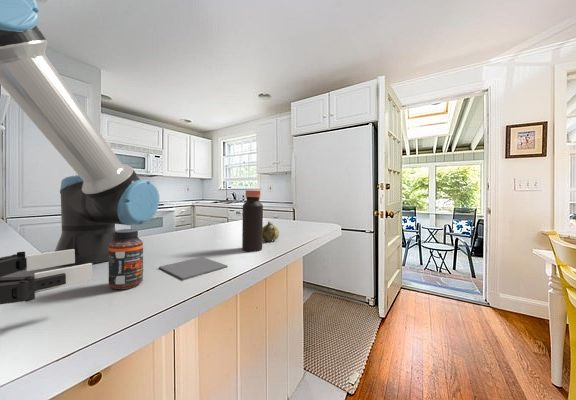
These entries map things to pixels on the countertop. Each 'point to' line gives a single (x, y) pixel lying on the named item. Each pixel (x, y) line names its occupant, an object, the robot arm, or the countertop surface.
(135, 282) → the supplement bottle
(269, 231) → the onion
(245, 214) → the vinegar
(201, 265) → the rubber mat
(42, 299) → the countertop surface
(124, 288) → the brass marker
